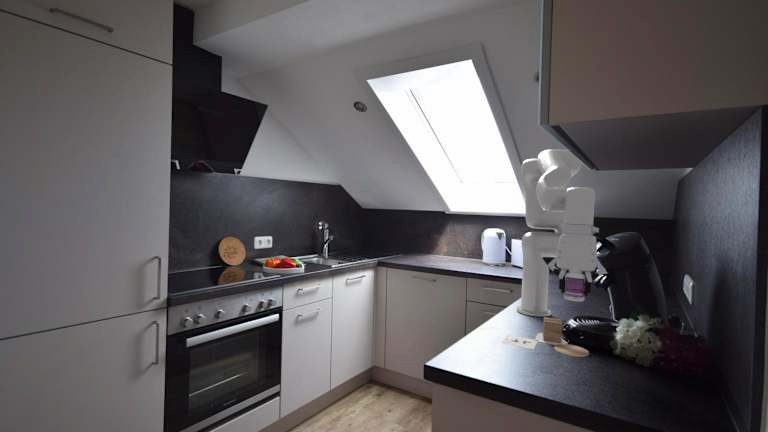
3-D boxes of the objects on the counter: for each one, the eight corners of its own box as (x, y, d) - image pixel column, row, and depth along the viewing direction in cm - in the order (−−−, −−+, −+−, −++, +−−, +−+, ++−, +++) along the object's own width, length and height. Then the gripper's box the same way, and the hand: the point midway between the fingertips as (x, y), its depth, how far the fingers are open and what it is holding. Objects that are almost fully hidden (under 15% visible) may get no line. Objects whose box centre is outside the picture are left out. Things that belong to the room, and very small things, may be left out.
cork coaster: (556, 343, 118) (556, 341, 118) (589, 349, 113) (589, 348, 113) (552, 352, 110) (552, 351, 110) (588, 359, 105) (588, 358, 105)
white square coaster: (508, 335, 124) (508, 334, 124) (538, 341, 119) (538, 340, 119) (501, 343, 116) (501, 342, 116) (533, 350, 111) (533, 349, 111)
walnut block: (542, 335, 124) (543, 317, 124) (559, 338, 122) (560, 319, 122) (543, 340, 119) (544, 321, 119) (561, 343, 117) (562, 323, 117)
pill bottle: (588, 302, 108) (590, 268, 108) (569, 301, 108) (571, 267, 108) (579, 297, 114) (580, 265, 113) (560, 296, 114) (562, 264, 113)
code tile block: (538, 333, 127) (538, 332, 127) (568, 339, 122) (568, 338, 122) (534, 341, 119) (534, 340, 119) (566, 347, 114) (566, 346, 114)
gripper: (612, 232, 109) (608, 295, 110) (547, 228, 118) (544, 287, 118) (612, 233, 103) (609, 301, 103) (543, 229, 111) (540, 291, 112)
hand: (574, 293), depth 111 cm, fingers closed on pill bottle, 5 cm apart
